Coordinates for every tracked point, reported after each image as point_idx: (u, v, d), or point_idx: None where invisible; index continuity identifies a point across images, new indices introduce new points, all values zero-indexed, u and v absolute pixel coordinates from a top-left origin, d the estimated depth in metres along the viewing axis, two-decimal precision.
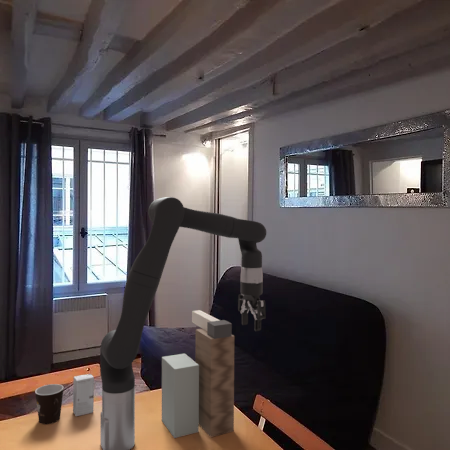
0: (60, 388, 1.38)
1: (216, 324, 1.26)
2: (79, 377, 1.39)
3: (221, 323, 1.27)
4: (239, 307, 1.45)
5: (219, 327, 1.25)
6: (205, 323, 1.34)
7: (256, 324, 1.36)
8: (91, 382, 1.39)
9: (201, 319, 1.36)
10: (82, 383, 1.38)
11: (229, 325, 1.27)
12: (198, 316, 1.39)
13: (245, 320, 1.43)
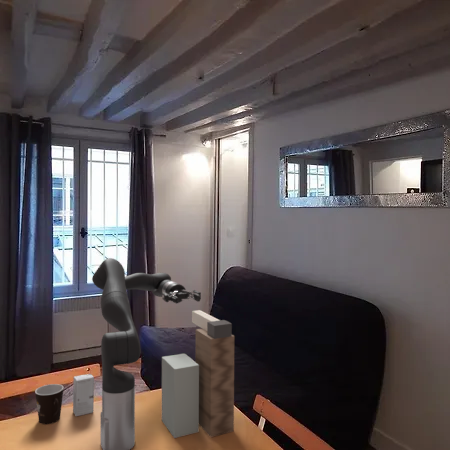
0: (60, 388, 1.38)
1: (216, 324, 1.26)
2: (79, 377, 1.39)
3: (221, 323, 1.27)
4: (167, 294, 1.55)
5: (219, 327, 1.25)
6: (205, 323, 1.34)
7: None
8: (91, 382, 1.39)
9: (201, 319, 1.36)
10: (82, 383, 1.38)
11: (229, 325, 1.27)
12: (198, 316, 1.39)
13: None
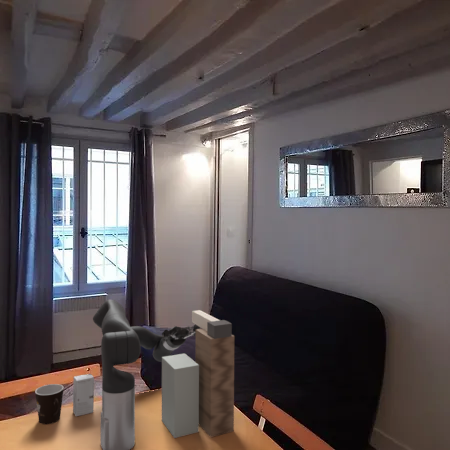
0: (60, 388, 1.38)
1: (216, 324, 1.26)
2: (79, 377, 1.39)
3: (221, 323, 1.27)
4: None
5: (219, 327, 1.25)
6: (205, 323, 1.34)
7: None
8: (91, 382, 1.39)
9: (201, 319, 1.36)
10: (82, 383, 1.38)
11: (229, 325, 1.27)
12: (198, 316, 1.39)
13: None
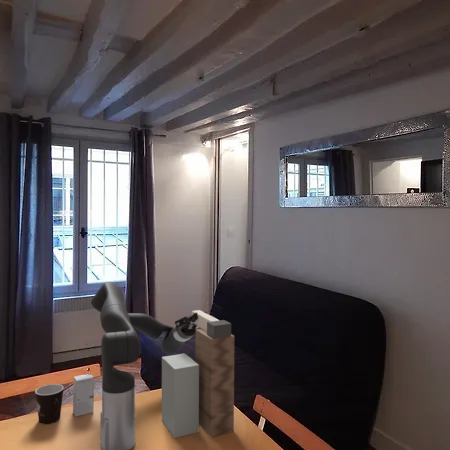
0: (60, 388, 1.38)
1: (216, 324, 1.26)
2: (79, 377, 1.39)
3: (221, 323, 1.27)
4: None
5: (219, 327, 1.25)
6: (205, 323, 1.34)
7: None
8: (91, 382, 1.39)
9: (201, 319, 1.36)
10: (82, 383, 1.38)
11: (229, 325, 1.27)
12: (198, 316, 1.39)
13: None
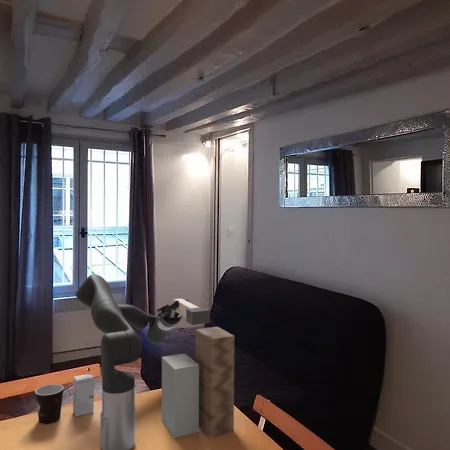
0: (60, 388, 1.38)
1: (194, 311, 1.27)
2: (79, 377, 1.39)
3: (199, 310, 1.28)
4: None
5: (197, 313, 1.26)
6: (185, 310, 1.35)
7: None
8: (91, 382, 1.39)
9: (182, 306, 1.37)
10: (82, 383, 1.38)
11: (207, 312, 1.28)
12: (179, 304, 1.40)
13: None
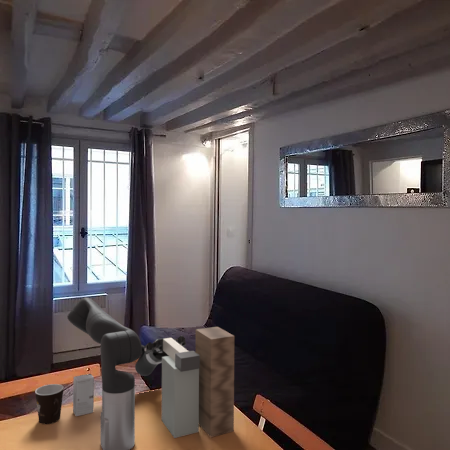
0: (60, 388, 1.38)
1: (183, 356, 1.23)
2: (79, 377, 1.39)
3: (189, 355, 1.24)
4: None
5: (186, 360, 1.22)
6: (174, 353, 1.31)
7: None
8: (91, 382, 1.40)
9: (171, 348, 1.33)
10: (82, 383, 1.38)
11: (197, 357, 1.24)
12: (168, 345, 1.36)
13: None
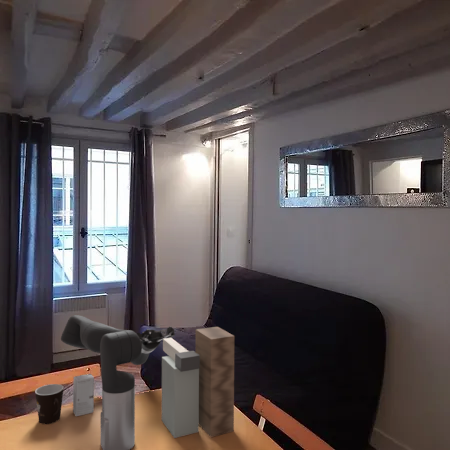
0: (60, 388, 1.38)
1: (183, 356, 1.23)
2: (79, 377, 1.39)
3: (189, 355, 1.24)
4: None
5: (186, 360, 1.22)
6: (174, 353, 1.31)
7: None
8: (91, 382, 1.39)
9: (171, 348, 1.33)
10: (82, 383, 1.38)
11: (197, 357, 1.24)
12: (168, 345, 1.36)
13: None
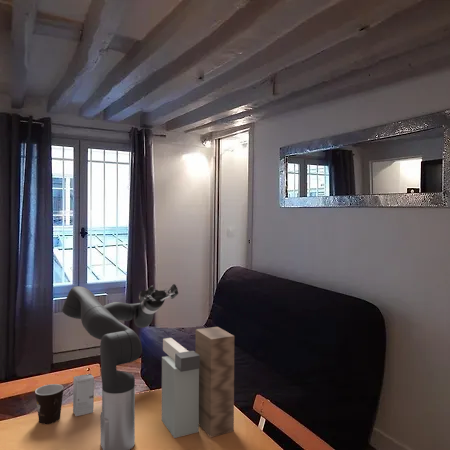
0: (60, 388, 1.38)
1: (183, 356, 1.23)
2: (79, 377, 1.39)
3: (189, 355, 1.24)
4: None
5: (186, 360, 1.22)
6: (174, 353, 1.31)
7: None
8: (91, 382, 1.39)
9: (171, 348, 1.33)
10: (82, 383, 1.38)
11: (197, 357, 1.24)
12: (168, 345, 1.36)
13: None
